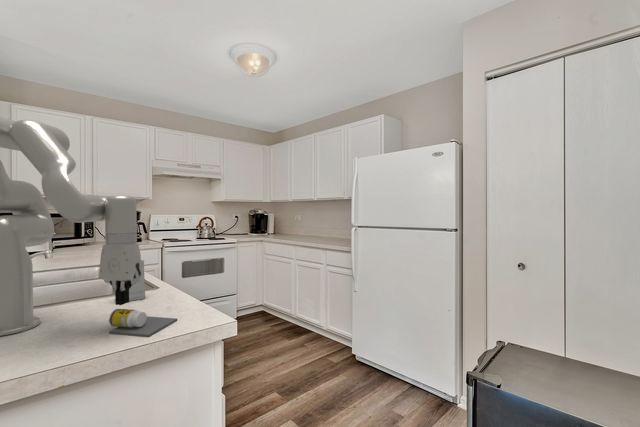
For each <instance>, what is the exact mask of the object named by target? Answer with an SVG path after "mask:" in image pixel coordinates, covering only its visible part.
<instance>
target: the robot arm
mask: <svg viewBox="0 0 640 427" xmlns="http://www.w3.org/2000/svg"><path fill="white" fill-rule="evenodd" d="M70 142H71V141H70V138H69V137H68V135H67V134H66V133H65V132H64V131H63V130H62V129H60V128H58V127H55V126H52V125H49V124H46V123H43V122H41V121H37V120H33V119H20V120H17V121H15V120H12V119H9V118H5V117H2V116H0V148H3V149H8V150H13V151H18V152H19V151H20V152H21V153H22V154H23V155H24V156H25V158H26V159H27V160H28V161H29V163H31V165H33V167H34V168H35V169H36V170H37V171H38V173H39V175H41V188H42V192H41V191H40V190H39V189H38V187H37V186H35V185H34V184H32V183H30V182H27V181H23V180H14V179H11V178H10V177H9V175H8V173H7V172H6V169H5V165H4V164H3V162H2V160H1V159H0V214H2V213H3V214H4V213H12V215H11V214H9V215H7V214H5V215H0V337H2V336H8V335H9V336H10V335H14V334H17V333H21V332H26V331H27V330H28V331H29V330H30V329H33V328H35V327H37V326H39V325H40V324H41V321H42V320H41V317H39V316H35V315H34V278H33V277H34V273H33V272H34V271H33V261H32V258H31V256H30V253H29V252H28V251H27V248H29V247H37V246H42V245H45V244H47V243H48V242H50V241H51V240H52V239H53V237H54V235H55V224H54V220H53V218H52V217H51V213H50V212H49V208H48V206H47V204H46V201H45V198H46V200H47V202H49V204H50V205H51V206H52V207H53V208H54V209H55V211H56V212H57V214H59V215H60V216H61V217H62V218H64V219H65V220H67V221H70V222H71V223H80V224H81V223H94V222H95V223H96V222H104V225H105V226H104V230H105V232H104V234H105V235H103V239H104V240H105V241H104V242H105V244H103V245H102V249H101V252H100V259H99V278H100V279H101V280H103V281H104V282H105V283H106V284H109V285H110V286H111V287H112V290H113V291H115V292H114V293H115V295H114V296H115V298H114V301H115V305H116V306H123V305H126V304H128V303H129V302H130V301H129V289H130V288H131V286H132V285H133V284H137V283H140V278H139V277H140V276H141V273H142V263H141V258H142V256H141V249H140V246H139V243H138V242H137V241H138V239H137V238H138V234H137V233H138V229H137V216H138V215H137V201H136V198H135V197H134V196H130V195H129V196H128V195H109V196H107V195H95V194H83V193H81V192H80V191H79V190H78V188H77V187H76V186H75V185H74V184H73V182H72V181H71V180H70V177H69V174H71V173H72V172H73V171H74V170H75V169H76V167H77V163H76V160H75V159H74V158H73V157H72V155H70V153H69V152H68V151H69V149H70V146H71V145H70ZM42 193H43V194H42ZM44 197H45V198H44Z"/></svg>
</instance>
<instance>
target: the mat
mask: <svg viewBox="0 0 640 427" xmlns="http://www.w3.org/2000/svg"><path fill="white" fill-rule="evenodd" d="M146 316H147V318H146V322H145V323H144V325H143V326H141V327H133V328H129V327H115V328H114V329H110V331H109V332H108V333H109V335H110V334H111V335H122V336H132V337H133V336H134V337H144V338H150V337H151V336H153V335H155V334H156V333H158V332H160V331H162V330H164V329H165V328H168V327H169V326H171V325H173V324H174V323H176V322H177V321H178V318H174V317H161V316H160V317H159V316H148V315H146Z"/></svg>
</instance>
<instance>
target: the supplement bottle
mask: <svg viewBox="0 0 640 427" xmlns="http://www.w3.org/2000/svg"><path fill="white" fill-rule="evenodd" d="M147 316H148V315H147V314H146V312H145V311H139V310H137V309H127V308H116V309H113V311H112V312H111V313H110V314H109V317H108V322H109V324H110V326H112V327H115V328H118V327H129V328H133V327H141V326H143V325H144V323H145V322H146V318H147Z"/></svg>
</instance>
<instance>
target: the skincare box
mask: <svg viewBox="0 0 640 427" xmlns="http://www.w3.org/2000/svg"><path fill="white" fill-rule="evenodd" d="M141 263H142V273H141V276H140V277H139V278H140V283H137V284H133V285H132V286H131V288H130V289H129V302H132V301H137V300H144V299H146V283H145V282H146V280H145V259H143V258H142V257H141Z"/></svg>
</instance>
